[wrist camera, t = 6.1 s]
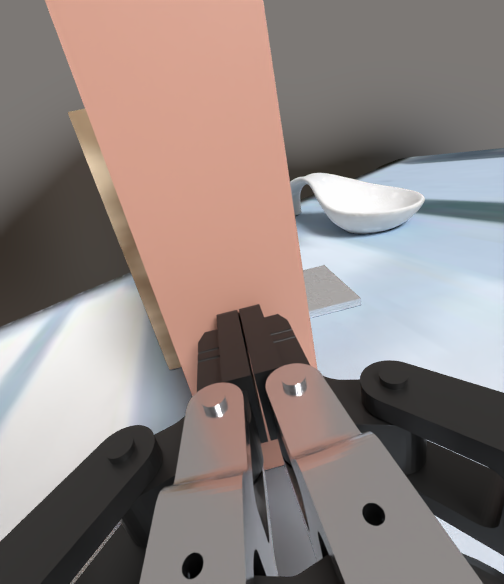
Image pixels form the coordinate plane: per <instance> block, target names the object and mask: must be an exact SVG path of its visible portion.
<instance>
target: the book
mask: <svg viewBox="0 0 504 584" xmlns="http://www.w3.org/2000/svg"><path fill="white" fill-rule="evenodd" d="M45 1H46V4H47V7H48V10H49V12H50V15H51V17H52V20H53V23H54V26H55V29H56V31H57V34H58V37H59V39H60V42H61V45H62V47H63V50H64V53H65V55H66V58H67V61H68V63H69V66H70V69H71V71H72V74H73V77H74V79H75V82H76V85H77V88H78V90H79V93H80V95H81V98H82V101H83V104H84V106H85V109H86V112H87V114H88V117H89V120H90V122H91V125H92V128H93V130H94V133H95V136H96V139H97V141H98V144H99V147H100V149H101V152H102V155H103V157H104V160H105V163H106V165H107V168H108V171H109V173H110V176H111V179H112V181H113V184H114V187H115V190H116V192H117V195H118V198H119V200H120V203H121V206H122V208H123V211H124V214H125V216H126V219H127V222H128V224H129V227H130V230H131V232H132V235H133V238H134V241H135V243H136V246H137V249H138V251H139V254H140V257H141V259H142V262H143V265H144V267H145V270H146V273H147V275H148V278H149V281H150V283H151V286H152V289H153V292H154V294H155V297H156V300H157V302H158V305H159V308H160V310H161V313H162V316H163V318H164V321H165V324H166V326H167V329H168V332H169V334H170V337H171V340H172V343H173V345H174V348H175V351H176V353H177V356H178V359H179V361H180V364H181V367H182V369H183V372H184V375H185V377H186V380H187V383H188V385H189V388H190V391H191V393H192V396H194V395H195V394H196V393H197V364H198V342H199V340H200V339H201V337H202V336H203V334H204V332H208V331H212V330H216V329H217V317H216V315H217V314H221V313H225V312H229V311H233V310H237V311H238V315H239V319H240V323H241V327H242V331H243V334H244V330H243V325H242V321H241V317H240V312H239V309H241V308H245V307H249V306H253V305H257V304H259V305H260V307H261V310H262V313H263V315H264V317H267V316H271V315H275V314H279V315H280V316H282V317H284V318H285V319H287V320H288V322H289V324H290V326H291V328H292V330H293V332H294V334H295V336H296V338H297V340H298V342H299V344H300V346H301V348H302V350H303V352H304V354H305V356H306V358H307V360H308V362H309V364H310V365H311V366H312V367H314V368H316V369H317V364H316V357H315V350H314V344H313V337H312V330H311V323H310V316H309V310H308V303H307V296H306V289H305V282H304V275H303V269H302V262H301V255H300V248H299V241H298V235H297V228H296V221H295V214H294V207H293V201H292V194H291V187H290V181H289V174H288V167H287V160H286V153H285V146H284V139H283V133H282V126H281V119H280V112H279V105H278V98H277V92H276V85H275V78H274V71H273V64H272V58H271V51H270V44H269V37H268V31H267V25H266V17H265V10H264V4H263V0H45ZM244 338H245V334H244ZM245 342H246V339H245ZM246 346H247V343H246ZM247 350H248V347H247ZM248 354H249V352H248ZM249 358H250V356H249ZM250 362H251V361H250ZM251 367H252V365H251ZM252 371H253V369H252ZM253 376H254V374H253ZM254 380H255V378H254ZM255 384H256V382H255ZM256 389H257V385H256ZM257 393H258V389H257ZM258 398H259V402H260V407H261V411H262V415H263V420H264V424H265V429H266V433H267V438H268V442H265V443H261V447H262V452H263V458H264V463H263V466H264V470H268V469H271V468H275V467H279V466H282V465H284V461H283V457H282V453H281V450H280V446H279V442H278V439H276V440H272V441H271V440H270V436H269V432H268V428H267V424H266V420H265V416H264V413H263V409H262V405H261V401H260V397H259V393H258Z"/></svg>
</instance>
